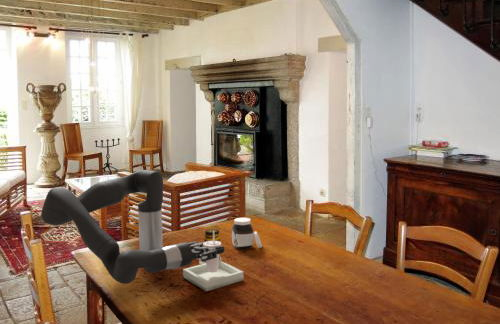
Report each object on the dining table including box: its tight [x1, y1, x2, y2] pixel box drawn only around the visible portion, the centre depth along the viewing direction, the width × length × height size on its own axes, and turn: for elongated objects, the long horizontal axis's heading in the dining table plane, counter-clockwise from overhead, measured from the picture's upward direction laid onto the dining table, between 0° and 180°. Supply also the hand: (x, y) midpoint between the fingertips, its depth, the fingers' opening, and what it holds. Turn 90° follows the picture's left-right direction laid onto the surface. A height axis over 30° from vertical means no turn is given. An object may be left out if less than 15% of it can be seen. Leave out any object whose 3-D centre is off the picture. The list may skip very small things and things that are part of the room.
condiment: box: [198, 228, 222, 265], centre depth 181 cm, size 7×8×12 cm
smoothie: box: [202, 231, 223, 272], centre depth 162 cm, size 6×6×14 cm
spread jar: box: [231, 217, 263, 250], centre depth 197 cm, size 12×11×12 cm
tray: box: [182, 259, 244, 292], centre depth 163 cm, size 15×15×3 cm
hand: (217, 246), depth 163 cm, fingers closed on smoothie, 6 cm apart
